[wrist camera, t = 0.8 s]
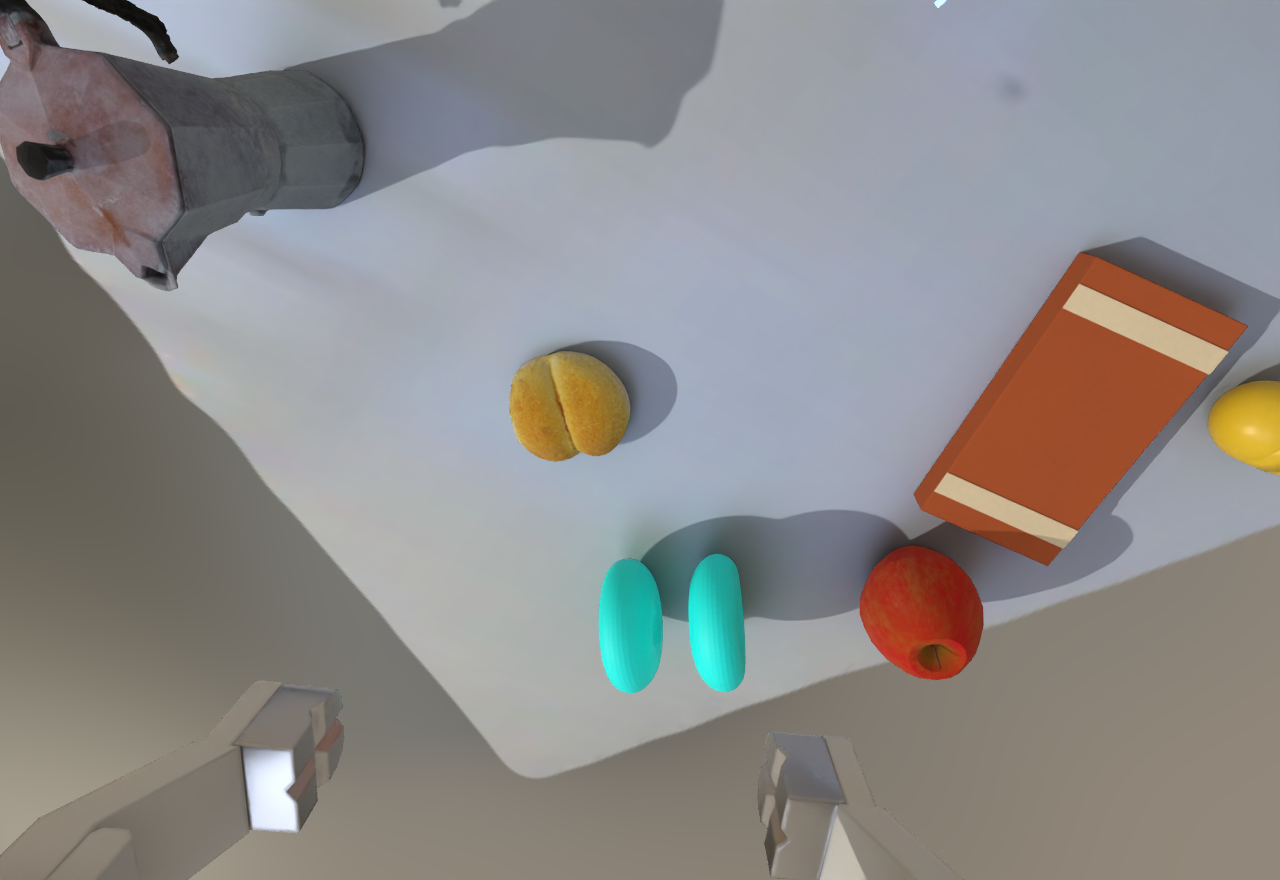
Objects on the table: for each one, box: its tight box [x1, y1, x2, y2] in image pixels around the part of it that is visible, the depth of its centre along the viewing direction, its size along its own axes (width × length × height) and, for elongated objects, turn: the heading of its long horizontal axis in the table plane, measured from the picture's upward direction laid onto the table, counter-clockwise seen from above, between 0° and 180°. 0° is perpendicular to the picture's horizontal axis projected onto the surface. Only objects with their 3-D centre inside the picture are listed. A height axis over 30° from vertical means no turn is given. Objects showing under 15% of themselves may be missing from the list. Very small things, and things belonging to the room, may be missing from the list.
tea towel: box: [914, 252, 1248, 566], centre depth 44 cm, size 19×10×2 cm, turn 157°
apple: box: [860, 545, 983, 680], centre depth 47 cm, size 8×8×11 cm
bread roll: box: [509, 351, 630, 461], centre depth 49 cm, size 8×9×4 cm
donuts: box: [599, 554, 745, 693], centre depth 51 cm, size 10×10×10 cm
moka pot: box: [0, 0, 364, 291], centre depth 37 cm, size 10×15×20 cm, turn 20°
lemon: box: [1208, 380, 1280, 475], centre depth 41 cm, size 7×5×5 cm
